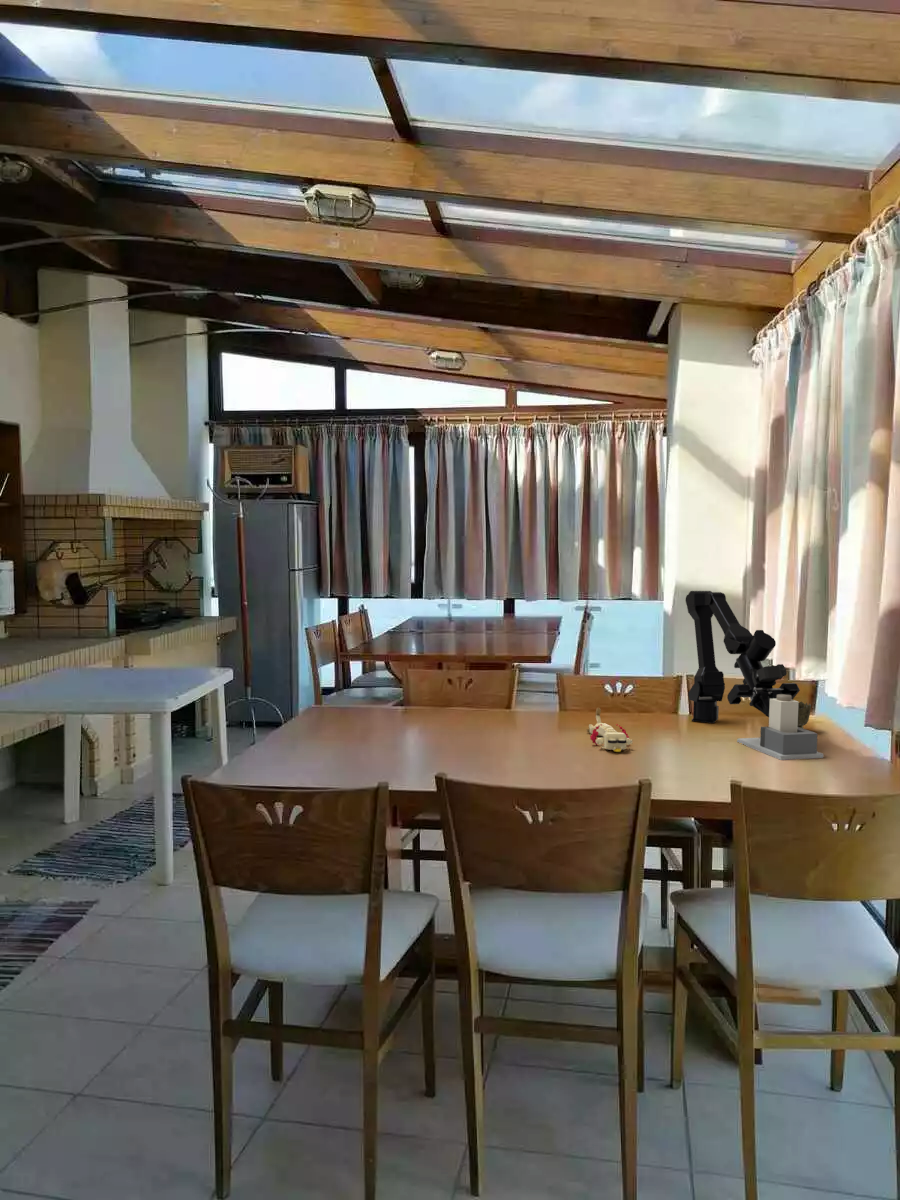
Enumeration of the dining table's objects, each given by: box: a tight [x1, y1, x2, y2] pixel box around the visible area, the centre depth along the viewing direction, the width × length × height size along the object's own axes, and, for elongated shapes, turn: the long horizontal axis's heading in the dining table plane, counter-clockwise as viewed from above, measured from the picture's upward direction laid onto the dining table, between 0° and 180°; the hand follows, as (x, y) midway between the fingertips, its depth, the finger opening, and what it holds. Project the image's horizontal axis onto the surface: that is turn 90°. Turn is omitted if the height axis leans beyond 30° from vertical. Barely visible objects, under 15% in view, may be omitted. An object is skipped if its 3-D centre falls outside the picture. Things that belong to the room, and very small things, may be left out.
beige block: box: [768, 694, 799, 733], centre depth 233 cm, size 5×5×13 cm
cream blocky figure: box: [586, 707, 633, 753], centre depth 240 cm, size 10×9×25 cm
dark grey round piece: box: [798, 701, 812, 729], centre depth 259 cm, size 8×7×8 cm
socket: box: [736, 726, 824, 761], centre depth 235 cm, size 20×12×6 cm, turn 13°
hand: (775, 719), depth 236 cm, fingers closed
